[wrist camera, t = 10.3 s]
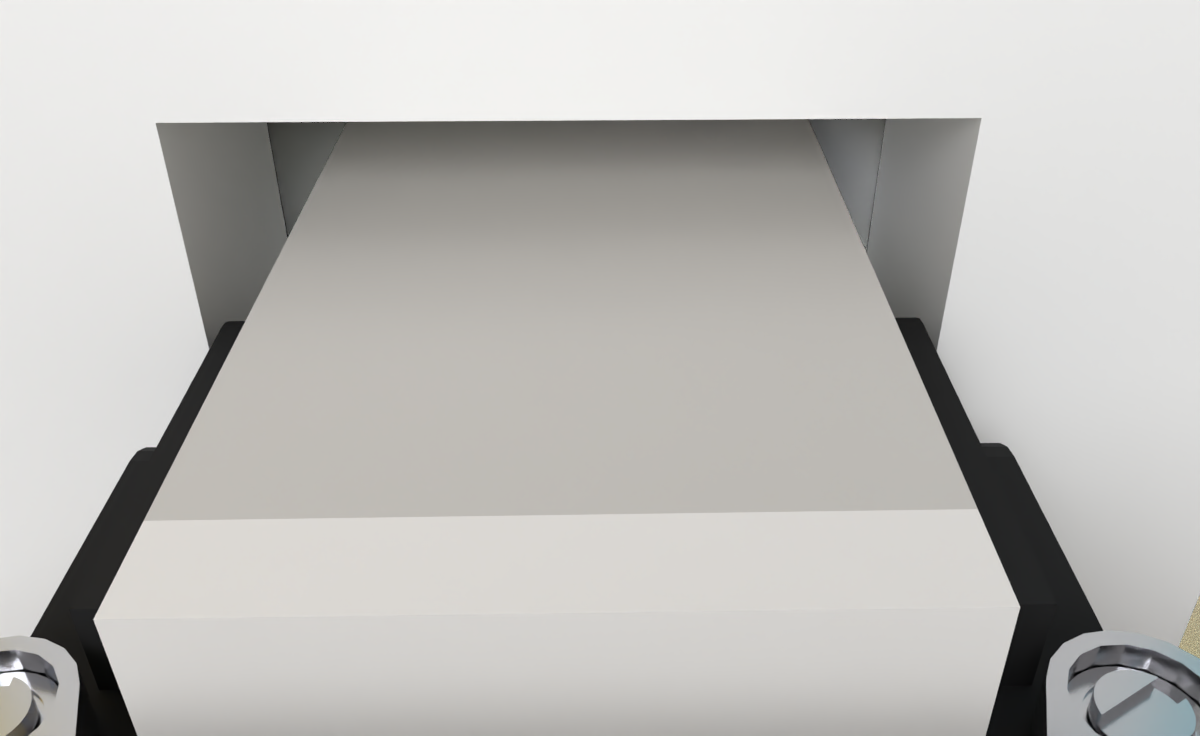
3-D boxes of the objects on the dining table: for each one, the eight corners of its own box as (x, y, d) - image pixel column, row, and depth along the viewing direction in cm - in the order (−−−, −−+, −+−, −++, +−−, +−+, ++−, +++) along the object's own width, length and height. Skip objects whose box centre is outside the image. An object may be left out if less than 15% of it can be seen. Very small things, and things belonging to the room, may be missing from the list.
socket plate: (1011, 719, 18) (1099, 948, 15) (161, 724, 18) (70, 953, 15) (1390, -521, 9) (1792, -599, 6) (-260, -512, 9) (-694, -585, 6)
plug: (799, 98, 12) (1020, 607, 6) (768, 450, 15) (898, 1060, 9) (355, 106, 12) (93, 619, 6) (405, 455, 15) (263, 1066, 9)
